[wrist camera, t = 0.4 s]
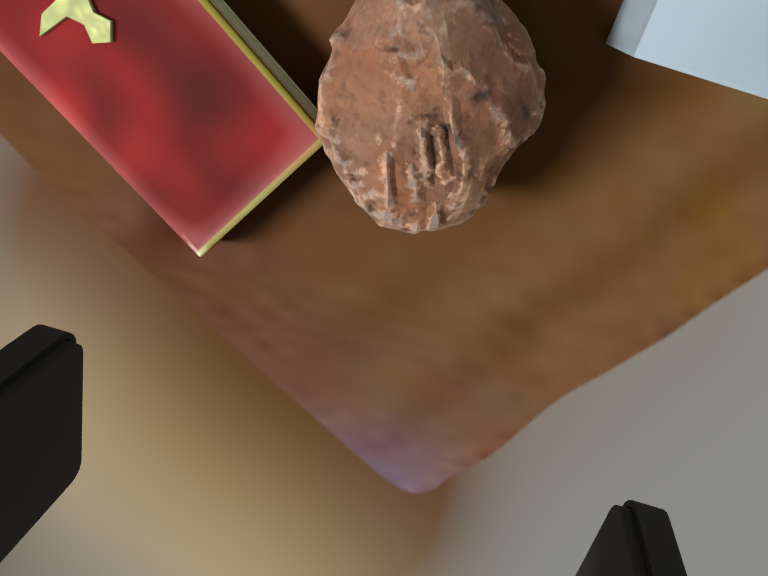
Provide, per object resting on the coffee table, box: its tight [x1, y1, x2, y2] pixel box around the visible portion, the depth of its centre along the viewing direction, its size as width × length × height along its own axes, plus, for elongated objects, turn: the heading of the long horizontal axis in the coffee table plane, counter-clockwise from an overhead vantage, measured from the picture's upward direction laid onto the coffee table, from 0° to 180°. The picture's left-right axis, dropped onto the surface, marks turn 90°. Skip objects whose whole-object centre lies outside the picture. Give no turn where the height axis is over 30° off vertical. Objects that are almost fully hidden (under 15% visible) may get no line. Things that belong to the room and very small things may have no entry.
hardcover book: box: [0, 0, 323, 257], centre depth 38 cm, size 12×21×4 cm, turn 42°
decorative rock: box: [315, 0, 546, 234], centre depth 33 cm, size 13×11×10 cm
